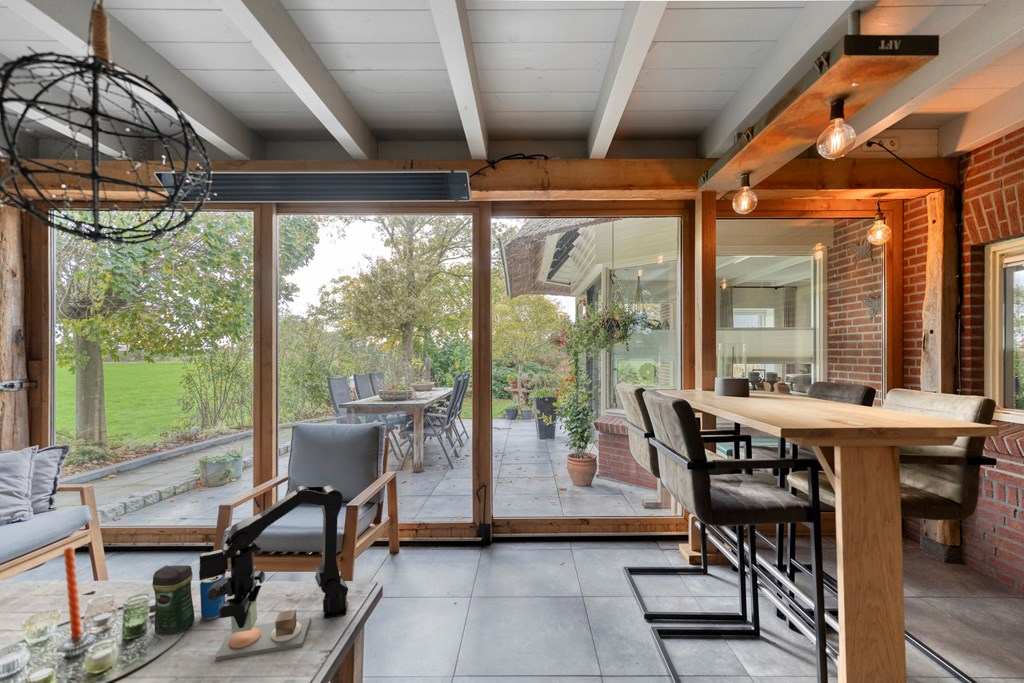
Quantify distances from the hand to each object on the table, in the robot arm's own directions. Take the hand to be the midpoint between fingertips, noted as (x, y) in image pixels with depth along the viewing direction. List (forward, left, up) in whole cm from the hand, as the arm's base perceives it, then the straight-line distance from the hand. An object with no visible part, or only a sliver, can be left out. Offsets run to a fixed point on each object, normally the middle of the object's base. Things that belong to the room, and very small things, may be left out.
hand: (244, 621), depth 131 cm
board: (-5, 0, -6) cm, 8 cm away
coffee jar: (+24, -13, -6) cm, 28 cm away
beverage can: (+15, -17, -6) cm, 23 cm away
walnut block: (-11, 0, -4) cm, 12 cm away
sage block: (0, 0, -1) cm, 1 cm away
